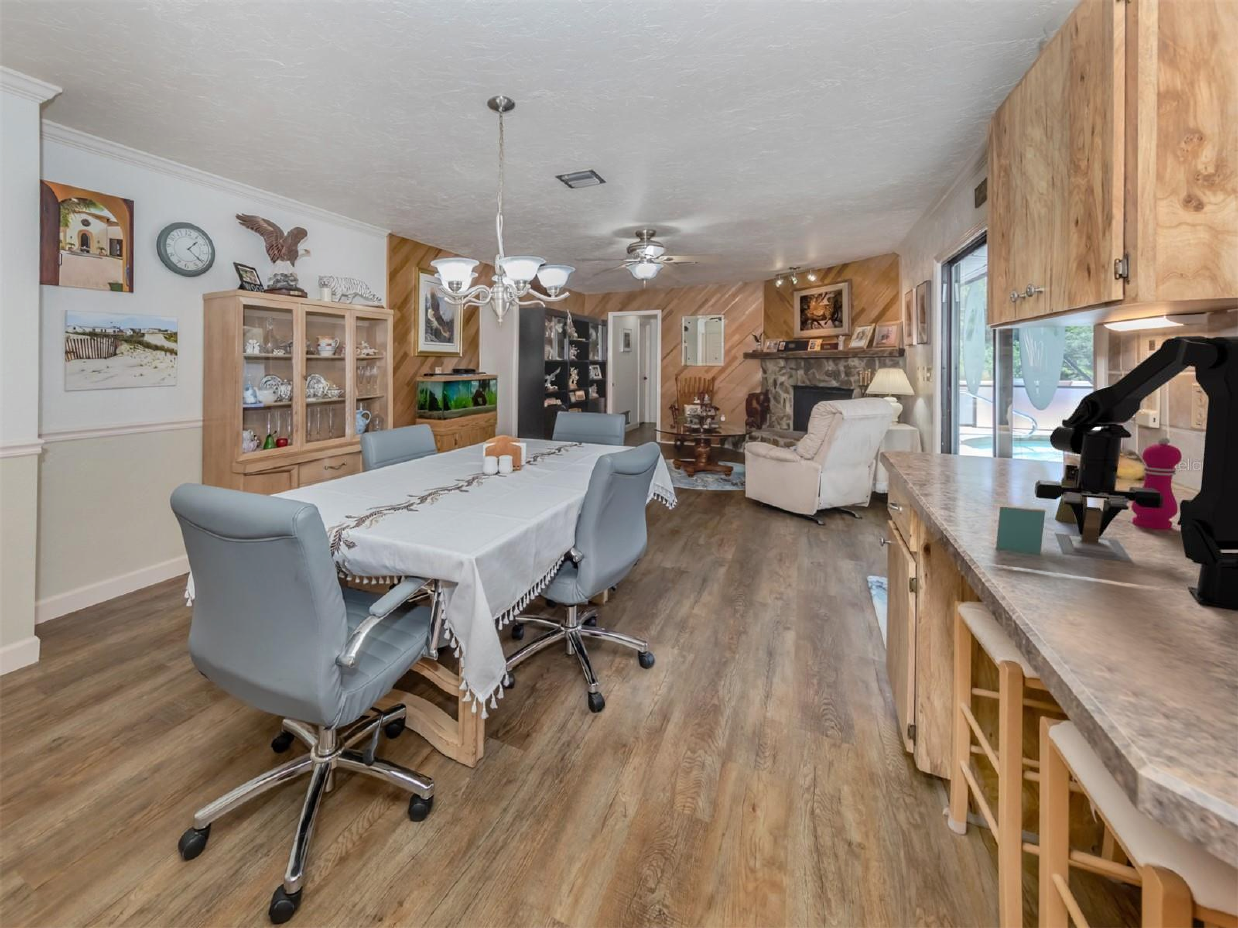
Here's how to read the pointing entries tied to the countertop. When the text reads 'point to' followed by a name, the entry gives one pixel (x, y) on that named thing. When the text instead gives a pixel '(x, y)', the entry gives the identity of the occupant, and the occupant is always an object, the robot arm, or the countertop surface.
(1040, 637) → the countertop surface
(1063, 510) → the cork
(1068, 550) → the mat
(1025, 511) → the tile
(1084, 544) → the brown post on base
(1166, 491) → the pepper mill
